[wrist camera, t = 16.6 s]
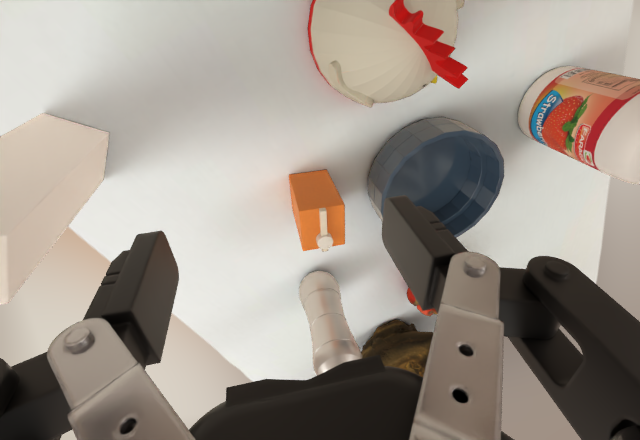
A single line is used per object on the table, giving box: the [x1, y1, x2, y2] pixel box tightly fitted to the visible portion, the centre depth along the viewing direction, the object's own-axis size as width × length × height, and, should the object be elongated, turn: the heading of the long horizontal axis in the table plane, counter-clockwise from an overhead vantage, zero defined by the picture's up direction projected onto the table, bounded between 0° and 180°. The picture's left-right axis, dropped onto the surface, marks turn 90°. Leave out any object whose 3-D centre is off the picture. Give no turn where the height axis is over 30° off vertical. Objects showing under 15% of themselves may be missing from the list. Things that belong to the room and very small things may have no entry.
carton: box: [289, 170, 345, 252], centre depth 39 cm, size 6×5×10 cm
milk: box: [0, 113, 109, 305], centre depth 26 cm, size 6×6×22 cm
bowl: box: [368, 117, 504, 238], centre depth 43 cm, size 16×16×6 cm
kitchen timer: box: [308, 0, 468, 107], centre depth 28 cm, size 14×14×15 cm
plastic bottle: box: [299, 271, 362, 376], centre depth 45 cm, size 6×7×20 cm
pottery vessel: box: [361, 319, 434, 377], centre depth 58 cm, size 25×11×20 cm, turn 119°
